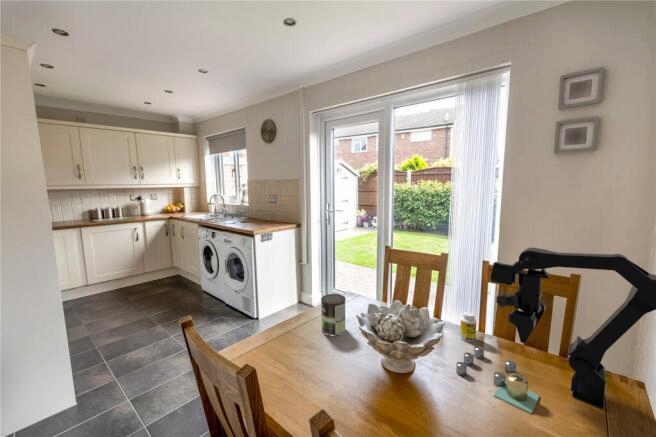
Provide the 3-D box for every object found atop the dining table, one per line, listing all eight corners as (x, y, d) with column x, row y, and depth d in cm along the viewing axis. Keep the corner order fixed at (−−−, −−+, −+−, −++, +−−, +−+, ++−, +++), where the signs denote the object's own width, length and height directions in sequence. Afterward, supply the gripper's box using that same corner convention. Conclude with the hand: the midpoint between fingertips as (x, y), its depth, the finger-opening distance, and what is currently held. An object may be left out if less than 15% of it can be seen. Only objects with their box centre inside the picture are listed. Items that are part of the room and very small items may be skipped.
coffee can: (322, 337, 115) (322, 304, 113) (320, 325, 125) (320, 294, 124) (347, 335, 116) (347, 302, 115) (343, 323, 126) (343, 293, 125)
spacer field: (518, 369, 93) (518, 361, 92) (501, 395, 82) (502, 385, 81) (473, 352, 103) (473, 344, 103) (453, 372, 92) (453, 363, 92)
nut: (529, 395, 81) (530, 378, 80) (524, 404, 78) (525, 386, 77) (509, 386, 85) (510, 369, 84) (503, 394, 81) (504, 377, 81)
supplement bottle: (465, 343, 109) (466, 317, 108) (457, 335, 114) (457, 311, 113) (478, 341, 110) (480, 316, 108) (469, 334, 115) (470, 310, 114)
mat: (539, 396, 81) (539, 395, 81) (531, 414, 75) (531, 412, 75) (503, 381, 87) (503, 379, 87) (493, 396, 81) (493, 394, 81)
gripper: (508, 276, 100) (506, 319, 101) (490, 290, 87) (488, 338, 88) (547, 283, 91) (544, 330, 93) (534, 300, 79) (531, 353, 80)
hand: (526, 337), depth 89 cm, fingers open, 9 cm apart
